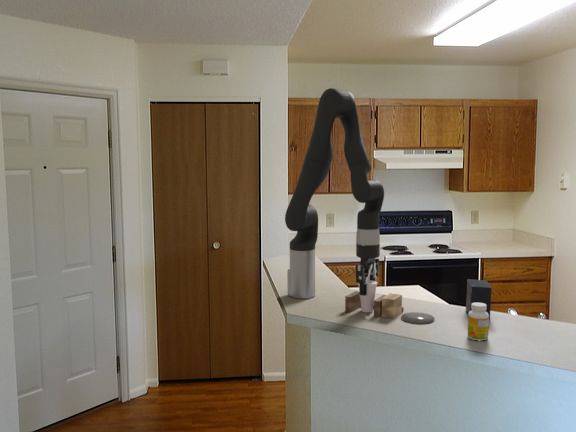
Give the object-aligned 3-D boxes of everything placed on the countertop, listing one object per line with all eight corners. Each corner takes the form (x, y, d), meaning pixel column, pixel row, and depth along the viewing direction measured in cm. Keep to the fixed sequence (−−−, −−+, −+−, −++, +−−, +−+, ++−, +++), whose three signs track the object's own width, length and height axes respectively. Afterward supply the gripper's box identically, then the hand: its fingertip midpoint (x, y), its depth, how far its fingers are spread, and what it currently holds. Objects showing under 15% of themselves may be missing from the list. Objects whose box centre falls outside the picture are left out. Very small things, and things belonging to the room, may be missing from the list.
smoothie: (364, 314, 172) (365, 271, 171) (353, 309, 178) (353, 268, 176) (381, 312, 175) (381, 269, 174) (369, 307, 181) (369, 266, 179)
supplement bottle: (464, 335, 152) (465, 301, 151) (482, 334, 152) (483, 301, 151) (472, 342, 147) (473, 307, 146) (491, 341, 147) (492, 306, 146)
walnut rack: (345, 311, 176) (345, 293, 176) (356, 304, 184) (357, 287, 183) (393, 319, 168) (393, 300, 167) (403, 311, 175) (403, 293, 175)
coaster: (396, 320, 166) (396, 318, 166) (407, 312, 174) (407, 310, 174) (428, 325, 161) (428, 323, 161) (438, 317, 169) (438, 315, 169)
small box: (491, 320, 166) (492, 287, 165) (469, 319, 167) (470, 286, 166) (486, 310, 176) (487, 279, 175) (465, 309, 177) (466, 278, 176)
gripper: (366, 238, 182) (365, 287, 184) (347, 244, 170) (347, 296, 172) (387, 240, 178) (386, 289, 180) (369, 246, 166) (369, 299, 168)
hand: (367, 292), depth 176 cm, fingers closed on smoothie, 6 cm apart
